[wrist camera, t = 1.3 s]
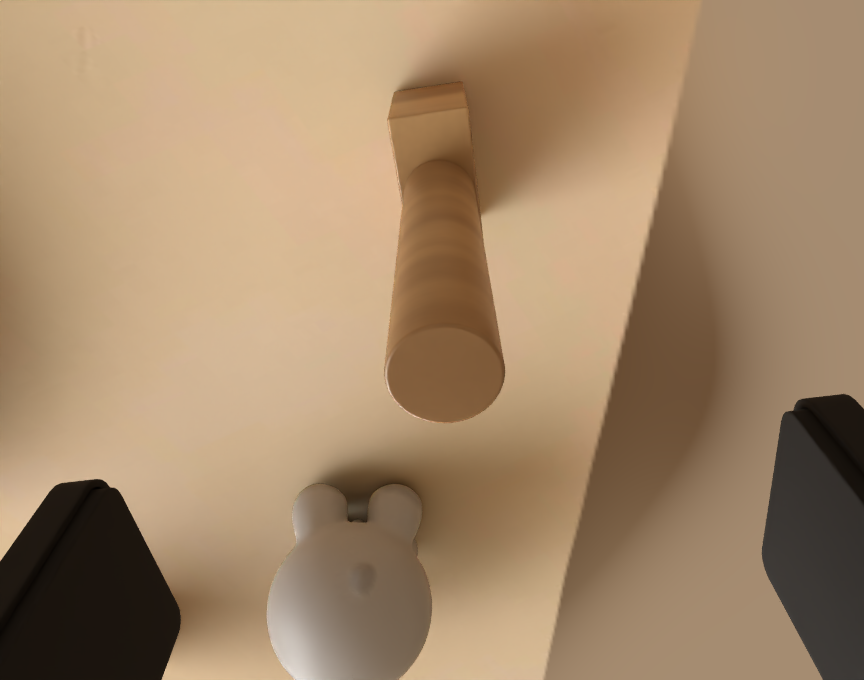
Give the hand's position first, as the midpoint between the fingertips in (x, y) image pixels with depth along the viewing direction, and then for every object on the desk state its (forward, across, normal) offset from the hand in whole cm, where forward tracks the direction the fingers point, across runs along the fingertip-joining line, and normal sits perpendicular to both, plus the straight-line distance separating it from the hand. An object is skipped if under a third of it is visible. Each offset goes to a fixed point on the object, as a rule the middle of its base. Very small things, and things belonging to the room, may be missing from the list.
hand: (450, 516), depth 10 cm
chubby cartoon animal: (+18, +7, +19) cm, 27 cm away
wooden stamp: (+17, 0, 0) cm, 17 cm away
